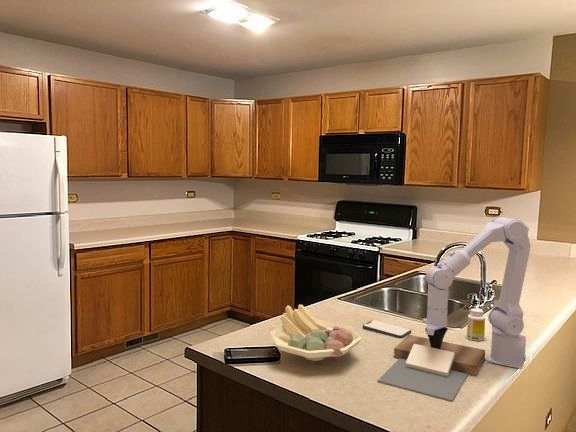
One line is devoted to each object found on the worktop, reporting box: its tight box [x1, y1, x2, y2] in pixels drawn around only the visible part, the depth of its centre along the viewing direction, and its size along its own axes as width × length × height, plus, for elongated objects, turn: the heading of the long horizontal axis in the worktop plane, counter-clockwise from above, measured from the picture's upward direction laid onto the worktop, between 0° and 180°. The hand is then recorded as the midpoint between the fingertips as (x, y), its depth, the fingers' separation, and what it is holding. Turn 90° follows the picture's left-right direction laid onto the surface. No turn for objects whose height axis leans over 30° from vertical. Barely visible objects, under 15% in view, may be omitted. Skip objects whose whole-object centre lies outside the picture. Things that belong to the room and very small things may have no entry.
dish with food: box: [269, 304, 362, 362], centre depth 144 cm, size 28×28×14 cm
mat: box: [377, 358, 469, 402], centre depth 130 cm, size 20×18×1 cm
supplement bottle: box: [466, 307, 486, 342], centre depth 160 cm, size 6×6×10 cm
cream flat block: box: [406, 344, 455, 377], centre depth 136 cm, size 12×8×2 cm, turn 57°
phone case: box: [362, 319, 412, 339], centre depth 169 cm, size 9×2×16 cm
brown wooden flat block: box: [393, 334, 486, 377], centre depth 144 cm, size 24×14×3 cm, turn 57°
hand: (435, 351), depth 140 cm, fingers closed
